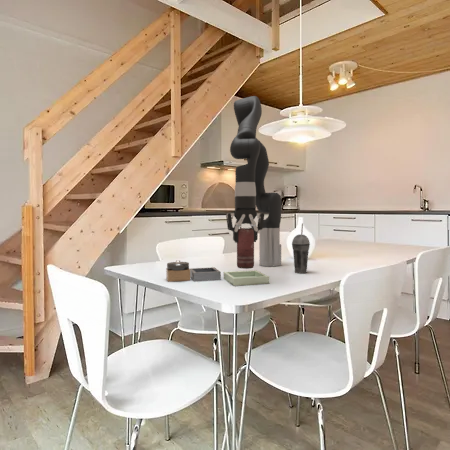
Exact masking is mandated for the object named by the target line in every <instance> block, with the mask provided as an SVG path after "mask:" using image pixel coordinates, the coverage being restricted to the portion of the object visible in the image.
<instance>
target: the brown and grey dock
mask: <svg viewBox="0 0 450 450" xmlns="http://www.w3.org/2000/svg"><path fill="white" fill-rule="evenodd" d="M165 272H166V274H165V275H166V280H167V282H170V283H171V282H187V281H191V280H192V281H193V282H204V281H205V282H207V281H221V279H222V273H221V272H222V271H220V270H219V269H217V268H216V267H213V266H212V267H196V268H190V262H188V261H181V260H175V261H171V262H167V263H166V268H165Z"/></svg>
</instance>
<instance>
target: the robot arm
mask: <svg viewBox="0 0 450 450" xmlns="http://www.w3.org/2000/svg"><path fill="white" fill-rule="evenodd" d="M233 111H234V114H235V118H236V121H237V126H238V128H237V134H236V135H235V137H234V138H233V140H231V144H230V147H229V148H230V149H229V153H230V155H231V156H232V157H233V159H236V160H246V162H247V163H246V164H243V165H238V166H236V168H235V184H234V185H235V186H234V211H233V213H232V212H231V213H226V214H225V217H226V225H227V230H228V231H231V232H232V241H234V243H235V244H237V243H238V232H237V231H238V229H240V228H241V226H242V225H246V224H247V225H250V227H251V228H250V229H253V230H254V243H256V242H257V241H258V234H259V257H258V258H259V260H258V261H259V266H261V267H278V266H282V244H280V243H281V242H280V241H281V240H280V239H281V238H280V237H281V235H280V234H281V233H280V229H281V228H280V226H281V221H282V208H283V207H282V204H283V203H282V197H281V195H280V193H278V192H266V190H265V178H266V175H267V172H268V170H269V166H270V161H269V156H268V151H267V148H266V147H265V145H264V144H263V143H262V142H261V141H260V139H258V138H257V128H258V125H259V123H260V120H261V117H262V104H261V100H260V98H259V97H258V96H256V95H253V96H252V95H251V96H247V97H243V98H240V99H237V100H234V102H233ZM256 210H257V211H258V212H259V213H258V212H257V211H256ZM265 214H268V216H267V217H266V218H265ZM234 218H235V220H236V221H235V222H234V226H233V219H234ZM256 218H257V223H256V221H255V219H256Z"/></svg>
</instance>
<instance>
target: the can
mask: <svg viewBox="0 0 450 450" xmlns="http://www.w3.org/2000/svg"><path fill="white" fill-rule="evenodd" d="M237 232H238V243H236V267H237V268H238V269H246V270H247V269H248V270H249V269H253V268H254V267H255V242H254V230H253V229H252V228H247V227H245V228H244V227H239V229H238V231H237Z"/></svg>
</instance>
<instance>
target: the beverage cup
mask: <svg viewBox="0 0 450 450" xmlns="http://www.w3.org/2000/svg"><path fill="white" fill-rule="evenodd" d="M303 227H304V223H301V229H300V232H301V233H300V234H296V235H295V236H294V237H293V239H292V241H291V245H292V246H291V247H292V252H293V253H292V254H293V265H294V272H295V274H296V273H297V274H307V269H308V262H309V261H308V260H309V250H310V247H311V246H310V245H311V243H310V239H309V238H308V237H307V236H306V235H305V234H303V230H304V228H303Z"/></svg>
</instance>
